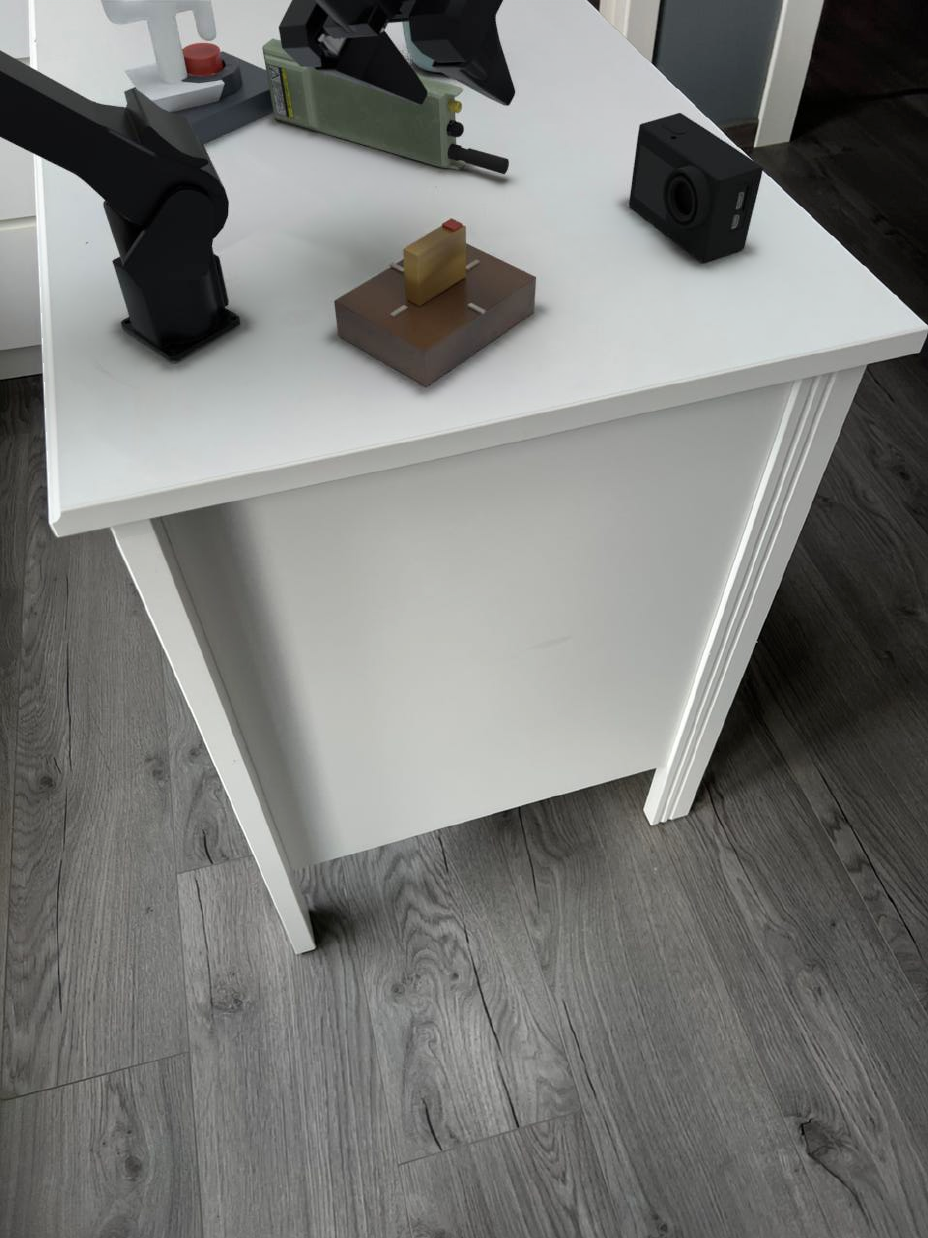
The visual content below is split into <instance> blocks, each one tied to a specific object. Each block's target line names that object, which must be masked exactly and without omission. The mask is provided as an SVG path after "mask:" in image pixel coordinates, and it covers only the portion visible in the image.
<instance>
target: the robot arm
mask: <svg viewBox="0 0 928 1238" xmlns="http://www.w3.org/2000/svg"><path fill="white" fill-rule="evenodd" d="M503 2H504V0H291V1H290V3H289V6H288V8H287V9H286V11H285V14H284V15H283V18H282V19H281V21H280V23H279V25H278V32H279V38H280V40H281V44H282V49H283V50H284V51H285V52H286V53H287V54H288V55H289V56H290V57H291V58H292V59H293V60H294V61H295V62H296V63H297V64H298V65H299V66H301V67H315V69H316V70H317V71H318V72H320V73H327V74H330V75H333V76H336V77H339V78H342V79H345V80H348V81H351V82H354V83H357V84H360V85H363V86H366V87H369V88H372V89H375V90H378V91H381V92H383V93H386V94H389V95H392V96H395V97H397V98H400V99H403V100H406V101H408V102H411V103H414V104H417V105H422V104H423V103H424V101H425V99H426V97H427V94H428V92H427V90H426V88H425V86H424V85H423V83H422V82H421V80H420V78H419V77H418V76H419V75H418V74H417V73H416V71H415V69H414V68H413V67H412V66H411V64H410V63H409V62H408V60H407V59H406V57H405V56H404V55H403V54H402V52H401V51H400V49H399V47H397V45H396V43H394V41H393V40H392V39H391V37H390V35H389V34H388V32H387V31H385V30H386V28H387V27H388V24H394V23H402V22H408V21H409V28H410V37H411V42H412V43H413V44H414V45H415V46H416V47H417V49H418V50H419V51H420V52H421V53H422V54H423V55H425V56H427V57H429V58H431V59H433V60H434V63H433V65H432V67H433V68H434V69H436V70H438V71H440V72H442V73H441V74H443V75H445V76H447V77H448V78H451V79H453V80H455V81H456V82H459V83H460V84H462V85H464V86H466V87H468V88H470V89H471V90H473V91H475V92H477V93H478V94H481V95H482V96H484V97H486V98H488V99H490V100H491V101H494V102H495V103H497V104H500V105H502V106H505V107H508V106H511V104H512V102H513V99H514V97H515V95H516V88H515V85H514V82H513V79H512V76H511V73H510V69H509V66H508V65H509V64H508V63H507V59H506V57H505V52H504V50H503V47H502V43H501V40H500V35H499V30H498V25H497V14H498V12H499V10H500V7H501V6H502V4H503ZM132 88H133V89H131V88H130V89H131V92H130V95H129V99H128V102H126V106H119V105H111V104H105V103H99V102H96V101H94V100H91V99H89V98H87V97H86V96H84V95H82V94H80V93H79V92H76V91H74V90H73V89H71V88H69V87H67V86H66V85H64V84H62V83H60V82H58V81H57V80H54V79H53V78H51V77H49V76H48V75H46V74H44V73H42V72H40V71H39V70H37V69H35V68H34V67H32V66H30V65H28V64H27V63H24V62H22V61H20V60H19V59H17V58H15V57H13V56H11V55H10V54H8V53H6V52H5V51H2V50H1V49H0V138H1V139H4V140H6V142H9V143H10V144H13V145H15V146H18V147H19V148H21V149H24V150H25V151H27V152H29V153H31V154H34V155H35V156H38V157H39V158H41V159H44V160H45V161H48V162H49V163H52V164H54V165H55V166H58V167H60V168H62V169H63V170H65V171H68V172H70V173H71V174H73V175H74V176H77V177H78V178H79V179H81V180H82V181H83V182H85V184H86V185H88V186H89V187H90V188H91V189H92V190H93V191H94V192H95V193H96V194H98V195H99V196H100V197H101V198H102V199H103V200H104V201H103V203H102V206H103V207H102V208H103V210H104V212H105V216H106V219H107V222H108V224H109V228H110V231H111V234H112V237H113V241H114V242H115V246H116V250H117V252H118V255H119V256H118V257H116V258H114V259H112V261H111V262H112V265H113V268H114V273H115V275H116V278H117V282H118V284H119V288H120V290H121V295H122V298H123V301H124V304H125V308H126V311H127V314H128V316H127V317H126V318H124V319H122V320H120V321H121V322H120V326H121V329H122V330H123V331H125V332H126V333H127V334H129V335H130V336H132V337H133V338H135V339H136V340H138V341H139V342H141V343H143V344H144V345H146V346H147V347H148V348H150V349H151V350H153V351H155V353H157V354H159V355H161V356H162V357H164V358H165V359H167V360H168V361H170V362H178V361H180V360H182V359H184V358H185V357H187V356H190V355H191V354H192V353H194V352H196V351H198V350H199V349H201V348H202V347H204V346H206V345H208V344H210V343H211V342H213V341H214V340H216V339H218V338H220V337H222V336H224V335H225V334H227V333H228V332H230V331H233V330H234V329H235V328H237V327H239V326H240V325H241V318H240V316H239V314H236V313H235V312H233V311H232V310H229V308H226V307H228V306H229V304H230V300H229V294H228V291H227V286H226V281H225V277H224V271H223V267H222V263H221V260H220V259H221V258H220V256H219V255H217V254H215V253H214V250H213V243H214V240H215V238H217V236H218V235H219V234H220V233H221V231H222V230H223V229H224V227H225V225H226V222H227V220H228V218H229V211H230V209H229V208H230V200H229V198H228V194H227V190H226V188H225V185H224V184H223V182H222V180H221V178H220V176H219V174H218V172H217V170H216V167H215V166H214V163H213V162H212V159H211V157H210V155H209V153H208V152H207V148H206V147H205V146H204V145H205V144H203V143H202V142H201V141H200V139H199V138H198V137H197V136H196V135H195V133H194V131H193V128H192V126H191V124H190V122H189V120H188V118H187V116H186V115H180V114H173V113H171V112H169V111H166V110H164V109H162V108H160V107H159V106H158V105H156V104H155V103H154V102H153V101H151V100H150V99H149V98H148V97H146V96H145V95H144V94H143V93H141V92H140V91H138V90H136V89H135V88H134V87H132Z"/></svg>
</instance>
